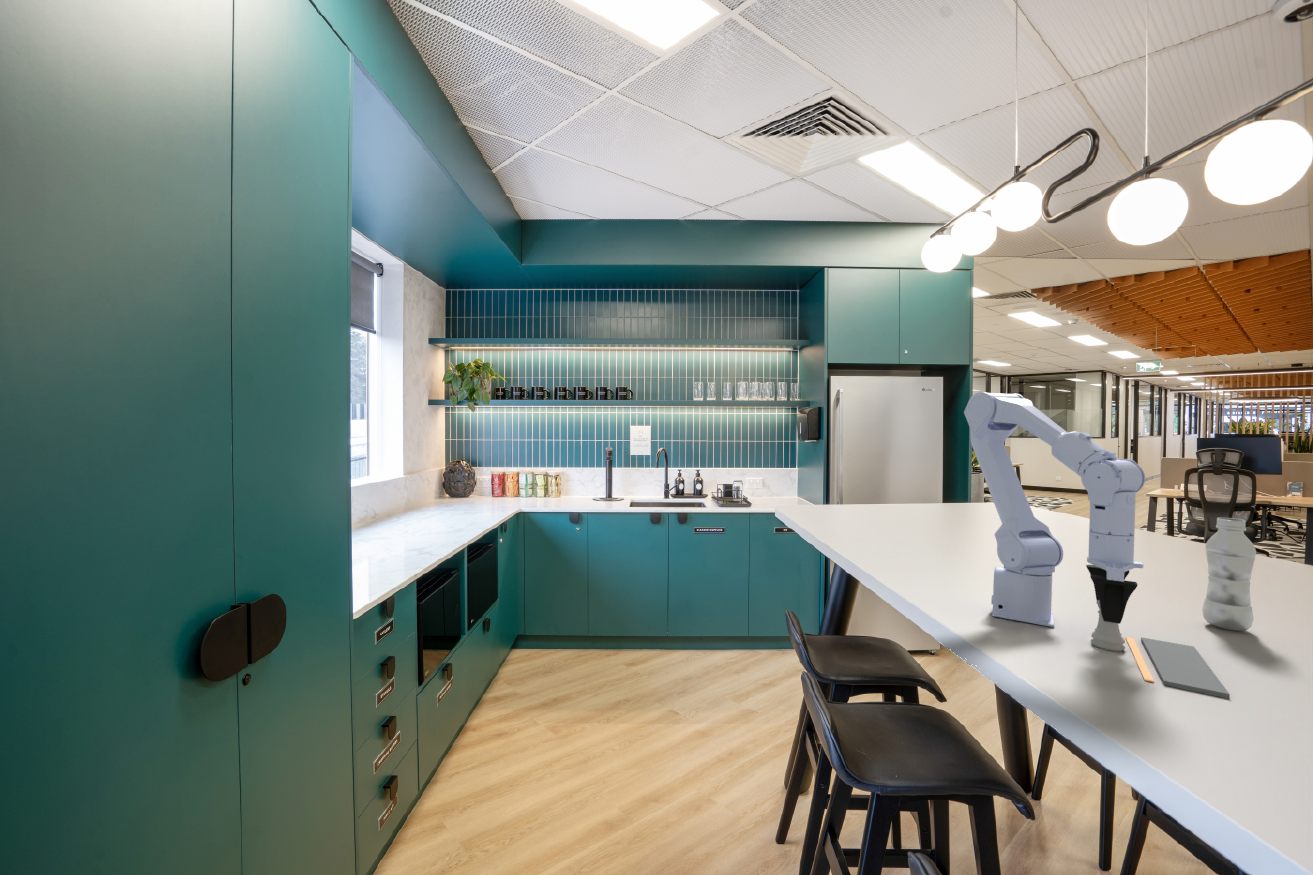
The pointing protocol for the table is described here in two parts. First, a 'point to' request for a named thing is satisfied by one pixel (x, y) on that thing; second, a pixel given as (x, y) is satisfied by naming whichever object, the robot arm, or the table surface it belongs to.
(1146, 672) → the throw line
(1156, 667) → the mat
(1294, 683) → the table surface
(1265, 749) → the table surface
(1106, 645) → the rook chess piece
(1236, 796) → the table surface
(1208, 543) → the plastic bottle
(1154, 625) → the table surface
